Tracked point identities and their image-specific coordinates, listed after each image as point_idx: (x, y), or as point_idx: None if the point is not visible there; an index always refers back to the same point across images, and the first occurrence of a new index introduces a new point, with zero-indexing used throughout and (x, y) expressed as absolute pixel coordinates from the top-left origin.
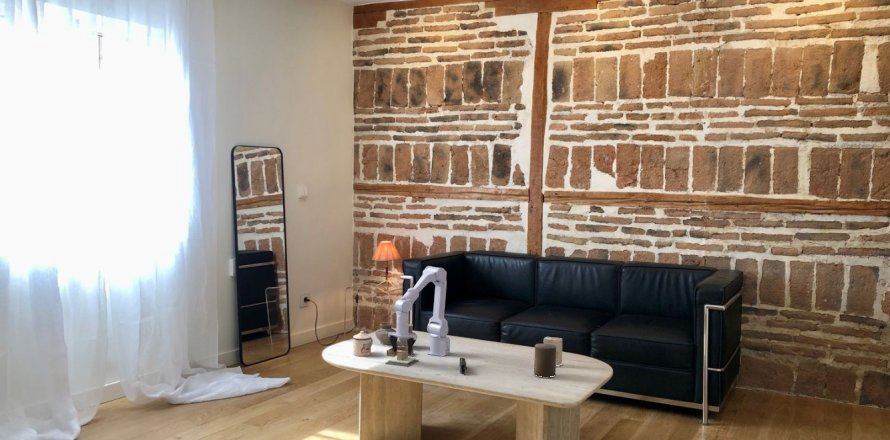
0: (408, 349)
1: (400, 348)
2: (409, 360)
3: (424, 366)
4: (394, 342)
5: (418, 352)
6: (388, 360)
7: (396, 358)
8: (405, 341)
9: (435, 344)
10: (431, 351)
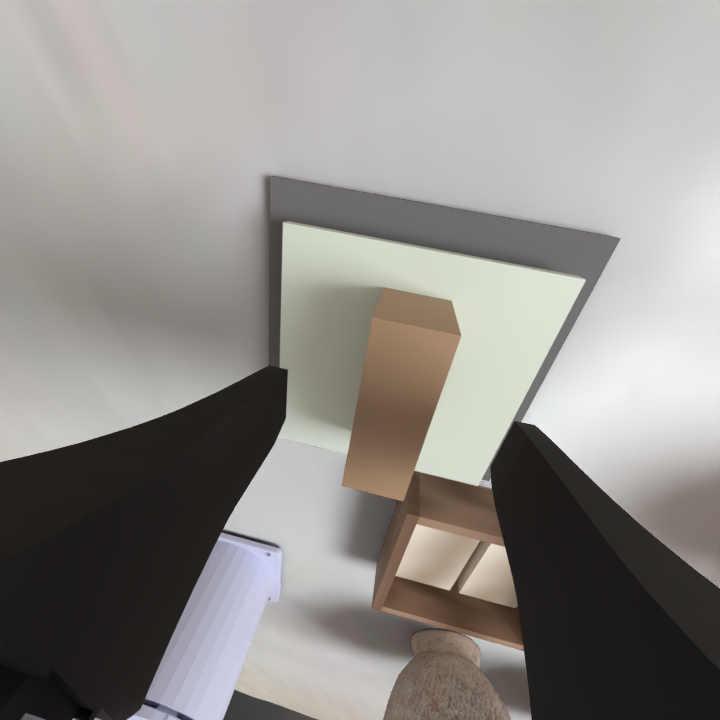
0: (236, 398)
1: (480, 617)
2: (296, 324)
3: (132, 251)
4: (611, 615)
5: (351, 577)
6: (583, 278)
7: (472, 375)
8: (456, 696)
9: (182, 619)
10: (249, 567)
